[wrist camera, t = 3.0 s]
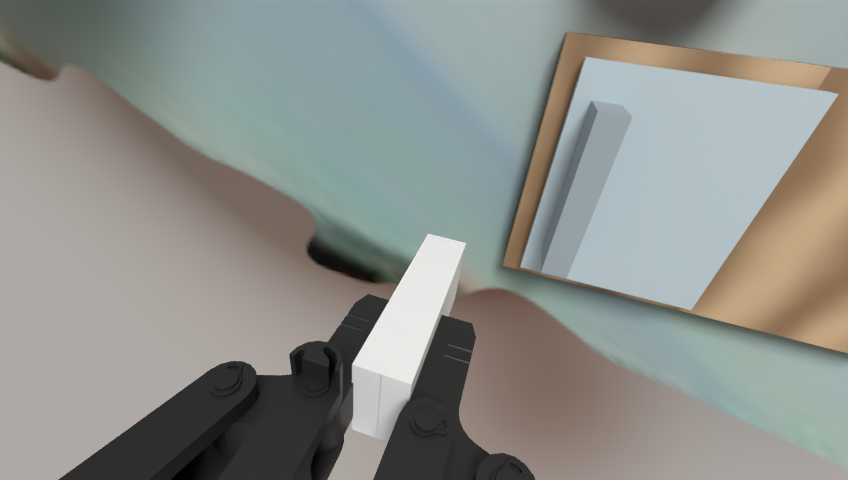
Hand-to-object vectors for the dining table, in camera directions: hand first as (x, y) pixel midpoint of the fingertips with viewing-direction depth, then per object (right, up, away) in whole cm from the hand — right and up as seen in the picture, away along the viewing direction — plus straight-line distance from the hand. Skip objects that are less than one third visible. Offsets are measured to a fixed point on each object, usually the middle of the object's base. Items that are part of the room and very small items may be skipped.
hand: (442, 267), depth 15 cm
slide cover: (+13, +4, +8) cm, 16 cm away
